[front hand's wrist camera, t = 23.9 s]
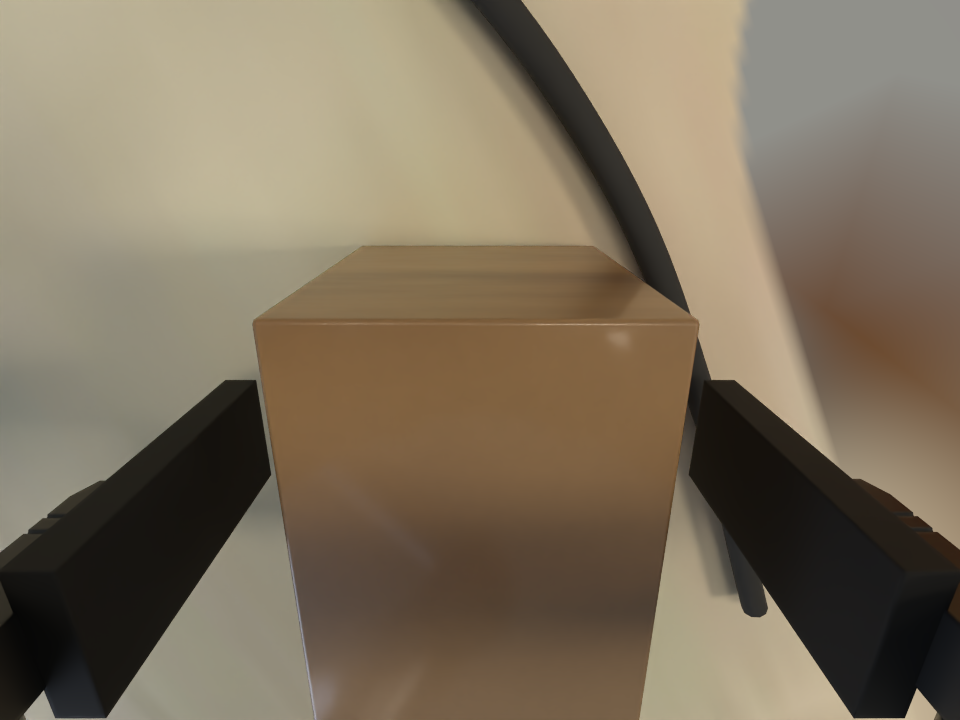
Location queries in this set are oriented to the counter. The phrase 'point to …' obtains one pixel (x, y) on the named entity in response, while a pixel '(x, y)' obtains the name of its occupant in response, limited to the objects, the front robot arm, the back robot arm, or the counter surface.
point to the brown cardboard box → (476, 478)
